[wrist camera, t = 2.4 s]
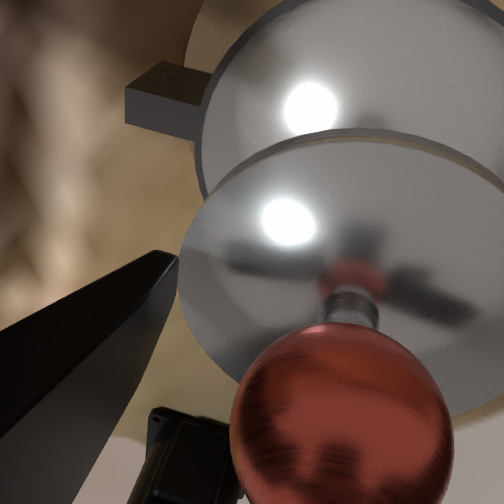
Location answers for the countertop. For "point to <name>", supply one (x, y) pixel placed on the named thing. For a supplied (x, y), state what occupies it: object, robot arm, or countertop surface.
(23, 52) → the countertop surface
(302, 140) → the plunger
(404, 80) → the press pot
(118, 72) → the countertop surface
